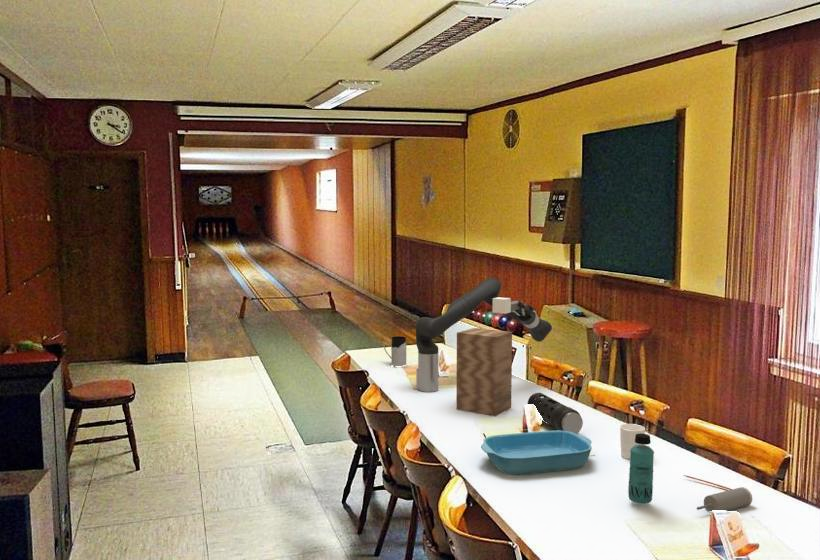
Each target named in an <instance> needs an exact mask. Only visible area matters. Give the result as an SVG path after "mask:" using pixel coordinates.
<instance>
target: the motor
mask: <svg viewBox="0 0 820 560" xmlns="http://www.w3.org/2000/svg"><path fill="white" fill-rule="evenodd" d="M683 477H686V478H688V479H691V480H692V479H693V482H695V483H696V481H697V483H699V484H702V485H706V486H709V487H712V488H716V489H719V490H723V491H721V492H718V493H713V494H709V495H706V496H705V497H704V499H703V505H701V506H697V507H696V510H697V511H699V510H703V509H705V510H706V511H707V512H709V511H712V510H729V511H733V510H736V509H741V508H744V507H748V506H750V505H752V502H753V495H752V493H751V491H750V490H749V489H748V488H747V487H743V486H741V487H736V488H730V487H727V486H725V485H721V484H718V483H714V482H710V481H708V480H704V479H701V478H697V477H694V476H690V475H686V474H683ZM695 480H696V481H695ZM699 481H700V482H699ZM703 482H704V483H703ZM709 513H710V512H709Z"/></svg>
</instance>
